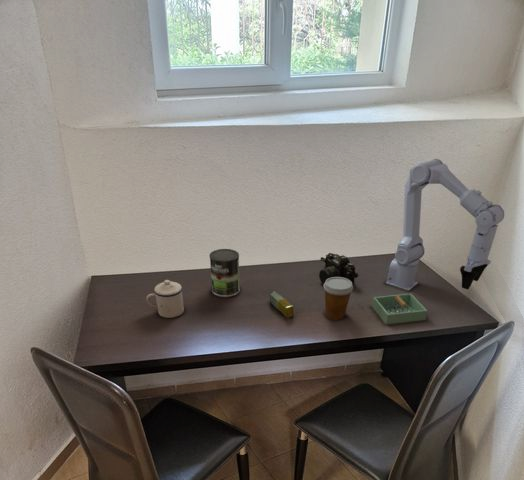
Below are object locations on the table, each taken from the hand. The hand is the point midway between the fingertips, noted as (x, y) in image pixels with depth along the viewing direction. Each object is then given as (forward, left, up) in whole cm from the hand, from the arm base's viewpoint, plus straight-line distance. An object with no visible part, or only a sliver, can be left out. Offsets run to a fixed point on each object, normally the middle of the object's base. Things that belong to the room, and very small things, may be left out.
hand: (469, 284), depth 152 cm
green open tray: (-16, -17, -10) cm, 25 cm away
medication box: (-48, -40, -10) cm, 63 cm away
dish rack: (-16, -17, -9) cm, 25 cm away
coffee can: (-72, -42, -10) cm, 84 cm away
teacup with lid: (-77, -66, -10) cm, 102 cm away
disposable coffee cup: (-32, -31, -10) cm, 45 cm away
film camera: (-45, -11, -10) cm, 47 cm away
